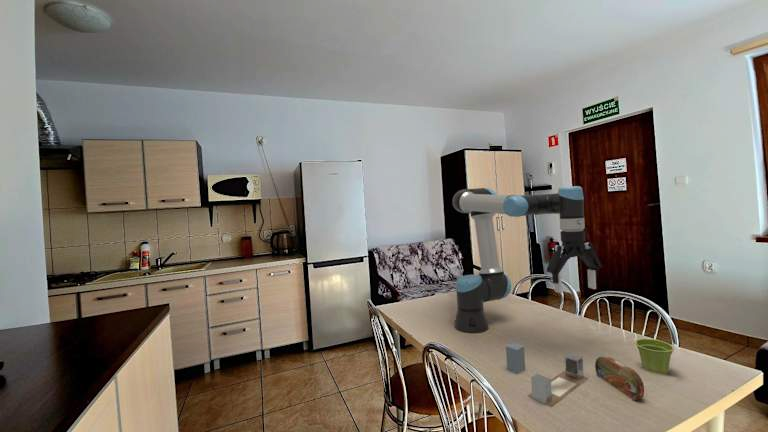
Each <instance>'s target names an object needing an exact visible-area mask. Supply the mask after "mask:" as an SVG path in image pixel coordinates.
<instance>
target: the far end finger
mask: <svg viewBox="0 0 768 432" xmlns="http://www.w3.org/2000/svg"><path fill="white" fill-rule="evenodd" d="M583 358H584V357H583V356H580V355H576V354H574V353H571V352H568V353H567V354H565V355H564V371H565V373H566V375H567V376H570V377H573V378H576V379H578V380H580V379H581V378H582V377H585V376H584V359H583Z"/></svg>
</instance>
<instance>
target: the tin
mask: <svg viewBox="0 0 768 432" xmlns="http://www.w3.org/2000/svg"><path fill="white" fill-rule="evenodd" d="M594 368H595V369H594V370H595V373H596V375H597V377H598V378H599V379H602V380H603V381H605V382H606V383H607V384H609V385H610V386H612V387H614V388H615V389H616V390H618V391H619V392H621V393H622V394H624V395H626V396H627V397H628V398H630V399H631V401H638V400H642V399H643V397H644V395H645V386H644V381H643V379H642V378H641V376H640V374H638V372H636V371H635V370H634V369H632V368H631V367H629V366H627V365H626V364H624V363H622V362H620V361H619V360H616V359H614V358H613V357H610V356H599V357H597V359H596V360H595V365H594Z"/></svg>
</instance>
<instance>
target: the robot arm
mask: <svg viewBox="0 0 768 432" xmlns="http://www.w3.org/2000/svg"><path fill="white" fill-rule="evenodd" d="M584 200H585V197H584V192H583V187H581V186H579V185H574V186H572V185H571V186H562V187H561V186H560V187H558V190H557V193H541V194H540V193H539V194H529V195H525V194H524V195H521V194H519V195H517V194H516V195H515V194H511V195H509V194H497V192H496V191H494V190H493V189H491V188H487V187H486V188H485V187H481V188H465V189H464V188H463V189H461V190H458V191H457V192H455V194H454V195H453V198H452V207H453V208H454V209H455V211H457V212H459V213H461V214H470V218H471V219H473V221H474V228H475V234H476V235H475V236H476V241H477V249H478V257H479V263H480V269H479V271H478V274H466V275H463V276H462V275H461V276H460V277H458V279H456V281H455V283H456V285H455V289H456V290H455V292H456V303H457V305H456V307H457V311H456V316H455V320H454V328H455V329H456V330H458V331H460V332H463V333H470V334H475V333H476V334H477V333H482V332H485V331H487V330H488V329H489V321H488V319H487V317H486V314H485V311H484V303H487V302H491V301H499V300H502V299H505V298H507V297H508V296H509V295H510V293H511V290H512V281H511V279H510V278H509V275H507V274H506V273H505V271H504V269H503V268H501V266H500V261H499V253H498V247H497V239H496V233H495V228H494V227H495V226H494V220H493V219H494V216H495V215H496V214H501V215H507V216H508V217H513V218H519V217H527V216H537V215H538V216H539V215H551V214H553V215H554V214H555V215H556V214H557V215H558V214H559V229H560V230H561V231H560V241H561V245H556V244H554V245H553V251H552V253H551V257H550V259H549V263H548V265H547V267H546V272H547V273H550V274H551V277H552V283H553V285H554V292H555V293H557V294H563V285H562V284H563V282H562V274H561V271H562V269H563V268H564V266H565V265H566V263H567V262H568V260H570V259H571V258H575V257H578V258H580V259H581V261H583V263H584V264H585V265H586V267H588V268H589V269H587V288H589V289H592V290H596V289H597V278H598V273H597V271H600V269H601V268H603V265H602V262H601V261H600V259H599V256H598V255H597V253H596V251H595V248H594V243H593V242H588V241H586V231H585V230H584V229H585V227H586V226H585V225H586V224H585V223H586V222H585V215H584V214H585V212H584V211H585V210H584V209H585V207H584Z"/></svg>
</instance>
